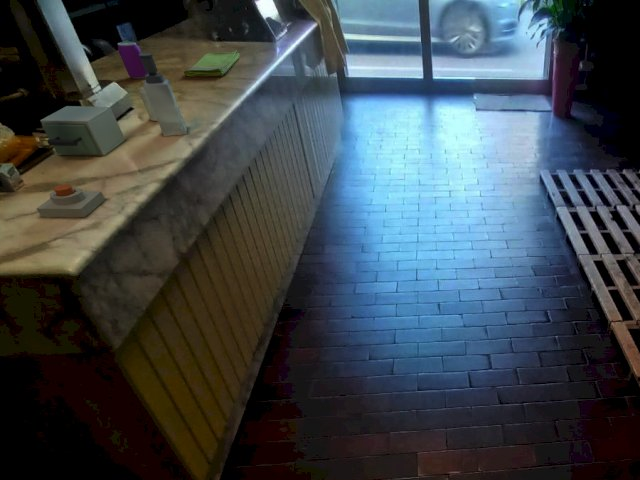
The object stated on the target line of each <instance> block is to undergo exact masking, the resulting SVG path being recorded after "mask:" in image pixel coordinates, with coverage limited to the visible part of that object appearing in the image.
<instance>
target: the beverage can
mask: <svg viewBox="0 0 640 480" xmlns="http://www.w3.org/2000/svg"><path fill="white" fill-rule="evenodd" d="M117 50H118V54H119V56H120V59H121V60H122V63H123V65H124V68H125V70H126V72H127V74H128V76H129V77H130V78H131V79H132V80H133V79H134V80H143V79H145V75H147V74H148V73H147V72H146V70H145V68H144V65H143V63H142V60H141V58H140V57H139V54H142V53H143V52H142V50H141V48H140V47H139V46H138V44H137V43H136V42H135V41H121V42H118V43H117Z"/></svg>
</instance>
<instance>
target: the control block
mask: <svg viewBox="0 0 640 480" xmlns="http://www.w3.org/2000/svg"><path fill="white" fill-rule="evenodd" d="M72 188H73V190H74V191H75V193H74V194H71V195H68V196H57V194H56V192H55V191H54V190H53V191H52V192H51V193H49V199H47V200H46V201H45V202H43V203H42V204H40V205H39V206H38V207H36V211H37V213H38V214H39V216H40V217H41V218H86V217H88V216H89V215H90V214H91V213H92V212H93V211H94V210H96V208H98V207H99V206H100V205H102V203H104V202H105V201H106V198H105V196H104V194H103V192H102V191H100V190H99V191H98V190H97V191H95V190H94V191H93V190H91V191H90V190H89V191H88V190H87V191H86V190H85V191H83V189H82V188H80V187H77V186H72Z"/></svg>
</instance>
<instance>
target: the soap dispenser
mask: <svg viewBox="0 0 640 480" xmlns="http://www.w3.org/2000/svg"><path fill="white" fill-rule="evenodd" d="M141 53H142V54H139V57H140V58H141V60H142V63H143V65H144V68H145V70H146V72H147V73H148V74H147V75H145V78H144V79H145V80H144V83H143V86H144V89H145V91H146V94H147V96H148V98H149V101H150V103H151V106H152V108H153V111H154V113H155V115H156V118H157V120H158V121H157V122H158V125H159V127H160V129H161V132H162V135H163V137H169V136H171V137H172V136H181V135H187V124H186V122H185V120H184V116H183V114H182V112H181V109H180V106H179V104H178V101H177V99H176V97H175V93H174V91H173V88H172V85H171V82H170V80H169V79H168V78H164V76H163V74H161V73H158V72H159V71H158V68H157V66H156V62H155V61H154V58H153V54H152V53H150V52H141Z"/></svg>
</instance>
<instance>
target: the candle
mask: <svg viewBox="0 0 640 480" xmlns="http://www.w3.org/2000/svg"><path fill="white" fill-rule="evenodd" d="M138 94H139V96H140V98H141V102H142V103H143V106H144V108H145V110H146V113H147V115H148V117H149V119H150V121H152V122H158V120H157V118H156V115H155V113H154V111H153V108H152V106H151V103H150V101H149V98H148V96H147V94H146V91H145V89H144V85H141V87H140V89H139V91H138Z"/></svg>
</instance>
